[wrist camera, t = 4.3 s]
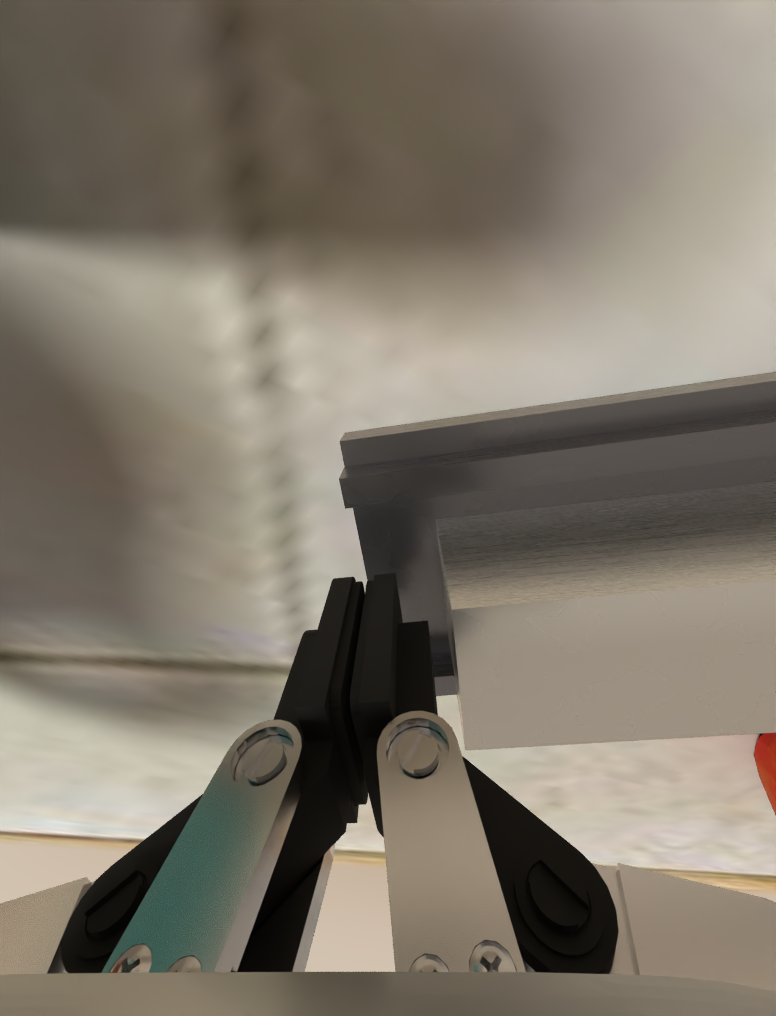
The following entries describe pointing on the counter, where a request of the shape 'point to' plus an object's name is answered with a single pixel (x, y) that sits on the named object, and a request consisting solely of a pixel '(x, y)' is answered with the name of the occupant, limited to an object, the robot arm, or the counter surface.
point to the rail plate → (542, 472)
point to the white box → (614, 618)
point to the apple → (767, 764)
